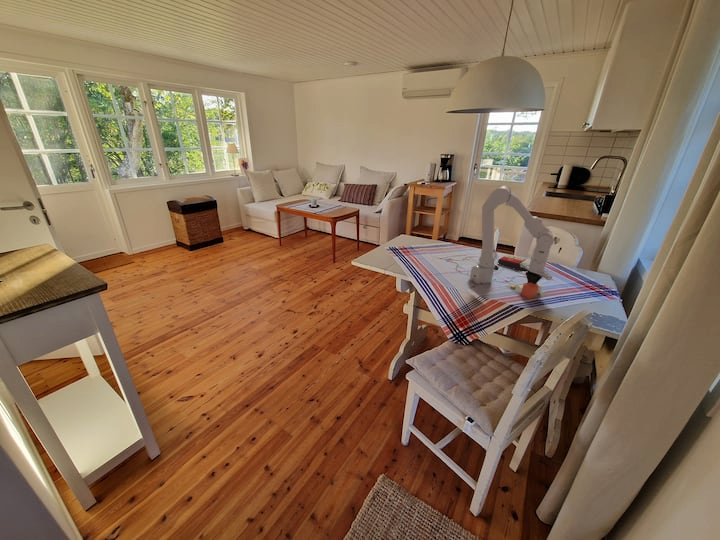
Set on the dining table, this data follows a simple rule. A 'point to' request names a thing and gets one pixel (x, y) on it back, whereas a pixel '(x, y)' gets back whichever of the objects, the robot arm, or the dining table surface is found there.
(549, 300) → the dining table surface
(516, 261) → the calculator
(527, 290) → the block
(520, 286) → the panel
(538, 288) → the switch handle
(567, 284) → the dining table surface
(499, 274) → the dining table surface
